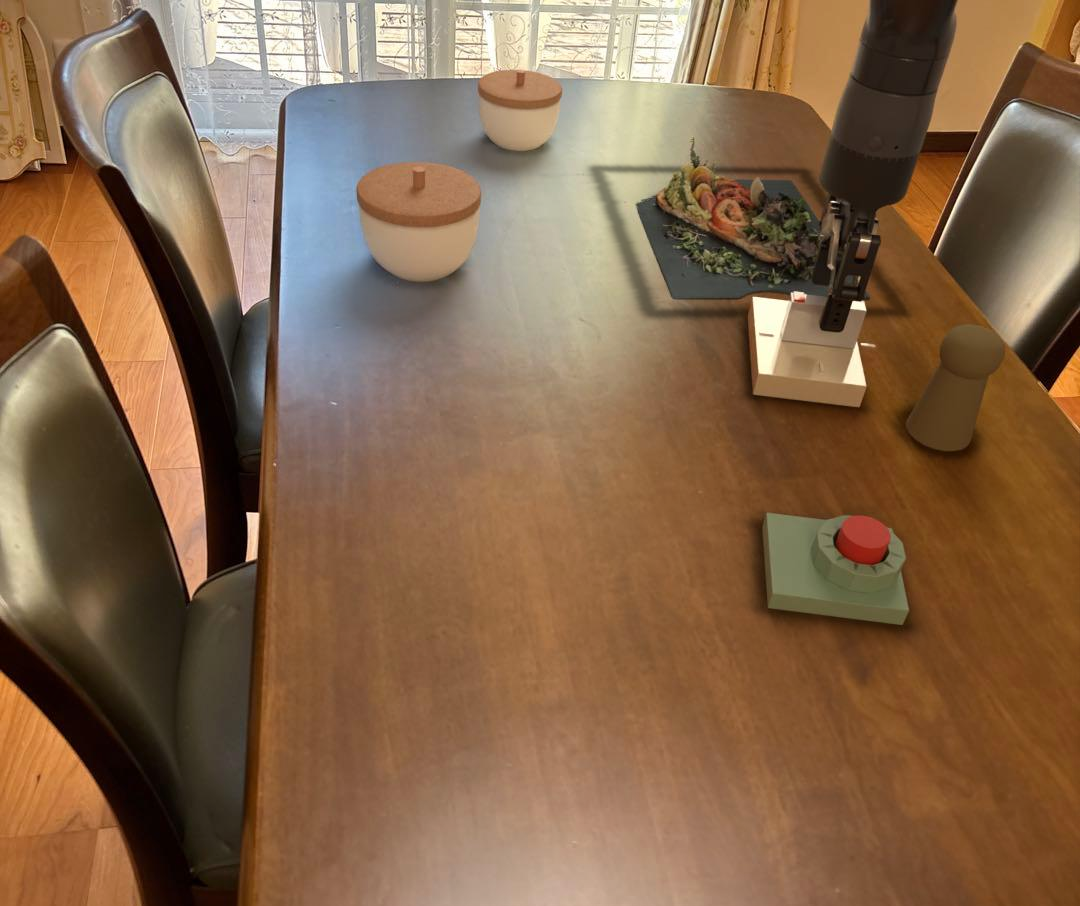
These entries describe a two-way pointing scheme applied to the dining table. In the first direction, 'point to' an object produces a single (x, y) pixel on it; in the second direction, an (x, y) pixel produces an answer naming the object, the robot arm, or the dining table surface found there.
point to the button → (863, 540)
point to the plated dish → (732, 236)
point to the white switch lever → (806, 317)
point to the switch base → (800, 362)
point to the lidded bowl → (419, 218)
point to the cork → (956, 388)
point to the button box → (829, 572)
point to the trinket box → (519, 108)
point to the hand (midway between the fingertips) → (825, 305)
